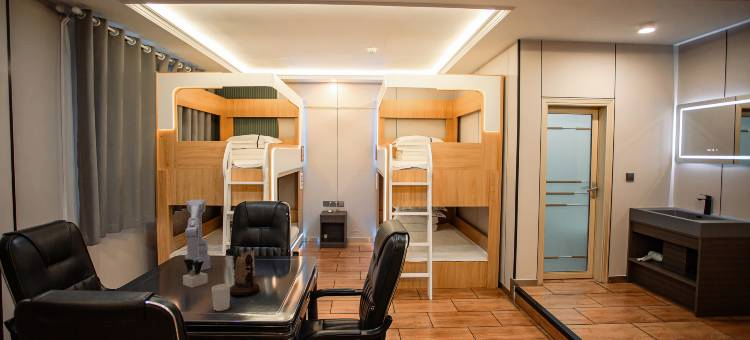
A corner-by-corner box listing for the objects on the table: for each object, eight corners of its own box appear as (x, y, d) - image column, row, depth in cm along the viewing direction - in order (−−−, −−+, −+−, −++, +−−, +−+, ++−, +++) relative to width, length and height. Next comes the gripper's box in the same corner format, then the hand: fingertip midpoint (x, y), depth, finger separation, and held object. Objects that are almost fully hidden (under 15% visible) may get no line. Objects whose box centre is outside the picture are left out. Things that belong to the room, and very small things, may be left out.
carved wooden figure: (253, 275, 218) (252, 249, 218) (262, 277, 214) (261, 251, 214) (237, 281, 208) (236, 254, 208) (246, 283, 205) (245, 256, 204)
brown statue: (222, 296, 187) (221, 256, 186) (241, 285, 201) (240, 249, 200) (247, 299, 183) (246, 259, 182) (264, 288, 197) (263, 251, 196)
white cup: (224, 312, 168) (223, 290, 168) (208, 311, 170) (207, 289, 169) (234, 305, 176) (233, 284, 175) (219, 304, 177) (218, 283, 177)
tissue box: (198, 279, 212) (198, 266, 211) (207, 282, 206) (207, 268, 206) (183, 284, 204) (182, 270, 204) (191, 287, 199) (191, 273, 199)
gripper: (178, 248, 206) (179, 272, 207) (193, 252, 198) (194, 277, 199) (191, 245, 212) (192, 269, 213) (205, 249, 204) (206, 273, 204)
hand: (193, 272), depth 206 cm, fingers open, 7 cm apart
